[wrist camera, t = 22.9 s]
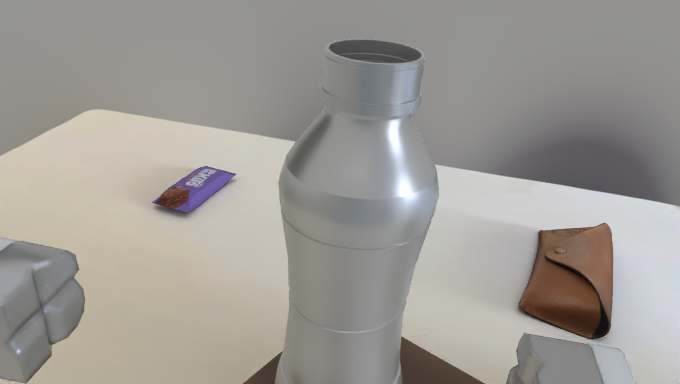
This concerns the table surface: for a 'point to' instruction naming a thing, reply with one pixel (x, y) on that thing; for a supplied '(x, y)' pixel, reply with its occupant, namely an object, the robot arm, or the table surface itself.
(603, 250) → the sunglasses case
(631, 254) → the table surface
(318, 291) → the plastic bottle
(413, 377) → the dark wooden box
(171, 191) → the snack package
